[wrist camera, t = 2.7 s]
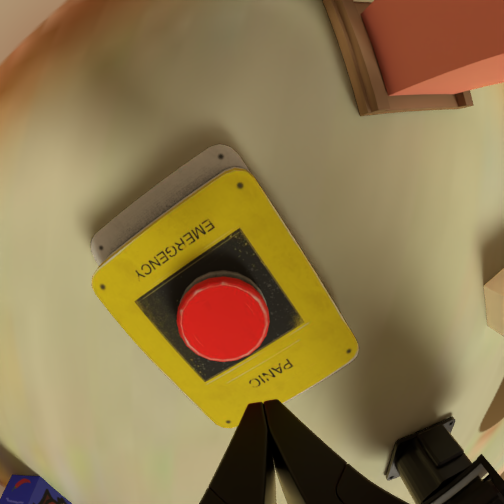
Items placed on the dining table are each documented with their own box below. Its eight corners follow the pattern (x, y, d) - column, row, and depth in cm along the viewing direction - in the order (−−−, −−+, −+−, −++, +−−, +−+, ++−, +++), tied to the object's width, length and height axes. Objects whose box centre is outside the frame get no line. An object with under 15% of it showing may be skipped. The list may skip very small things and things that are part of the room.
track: (457, 109, 15) (475, 105, 13) (360, 116, 15) (375, 110, 13) (390, -54, 12) (400, -65, 10) (292, -64, 11) (297, -79, 10)
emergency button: (226, 121, 11) (389, 387, 14) (225, 137, 15) (360, 348, 19) (49, 261, 11) (246, 466, 15) (87, 241, 16) (241, 419, 19)
